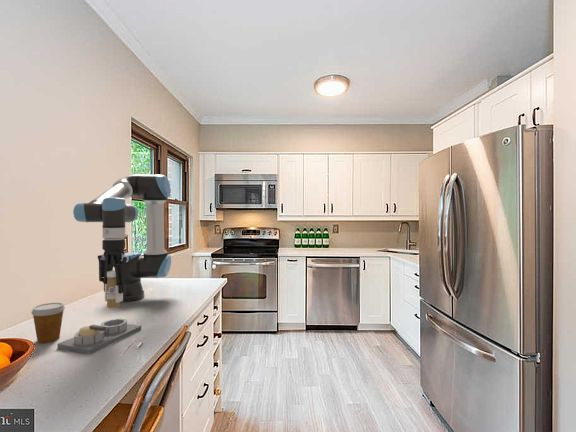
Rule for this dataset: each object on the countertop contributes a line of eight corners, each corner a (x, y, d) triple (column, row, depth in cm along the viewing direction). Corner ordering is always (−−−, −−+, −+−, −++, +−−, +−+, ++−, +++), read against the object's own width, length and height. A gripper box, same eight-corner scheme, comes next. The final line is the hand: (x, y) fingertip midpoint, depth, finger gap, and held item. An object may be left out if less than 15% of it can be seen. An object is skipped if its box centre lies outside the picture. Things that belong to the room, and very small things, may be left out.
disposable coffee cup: (46, 334, 117) (46, 301, 116) (71, 334, 116) (71, 302, 116) (24, 344, 107) (23, 310, 107) (51, 345, 107) (51, 310, 107)
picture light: (134, 339, 113) (134, 333, 113) (147, 339, 114) (147, 333, 114) (118, 357, 100) (118, 351, 99) (133, 357, 100) (133, 350, 100)
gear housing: (112, 325, 126) (112, 309, 126) (141, 329, 121) (141, 313, 121) (57, 348, 105) (57, 328, 105) (89, 354, 101) (89, 334, 100)
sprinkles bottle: (106, 309, 115) (106, 272, 114) (107, 305, 119) (107, 270, 118) (120, 307, 116) (120, 271, 116) (121, 304, 121) (121, 269, 120)
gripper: (87, 239, 116) (87, 301, 117) (124, 240, 111) (124, 306, 111) (104, 237, 124) (104, 296, 124) (140, 239, 118) (140, 300, 118)
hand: (113, 301), depth 118 cm, fingers closed on sprinkles bottle, 4 cm apart
